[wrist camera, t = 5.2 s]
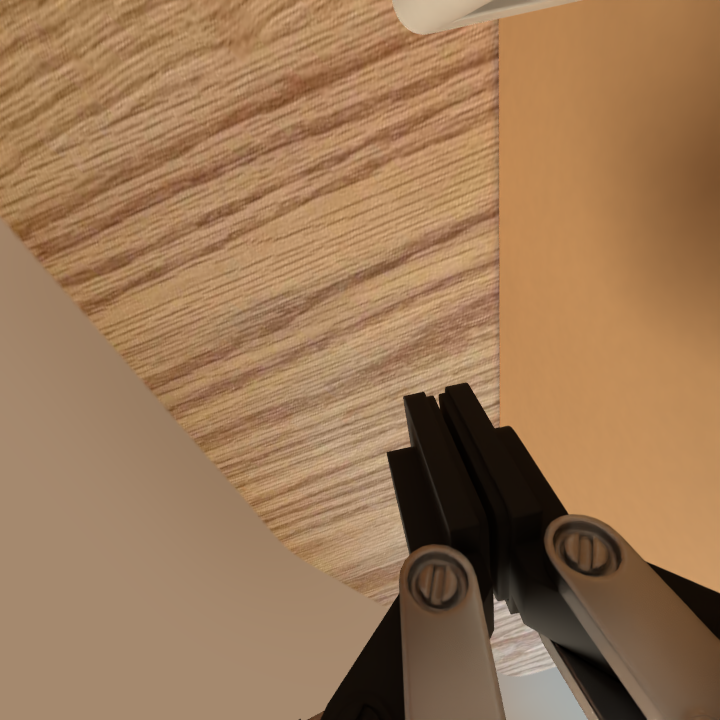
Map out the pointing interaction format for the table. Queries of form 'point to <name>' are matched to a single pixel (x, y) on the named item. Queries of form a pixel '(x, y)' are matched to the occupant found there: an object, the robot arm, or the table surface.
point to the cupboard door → (611, 258)
